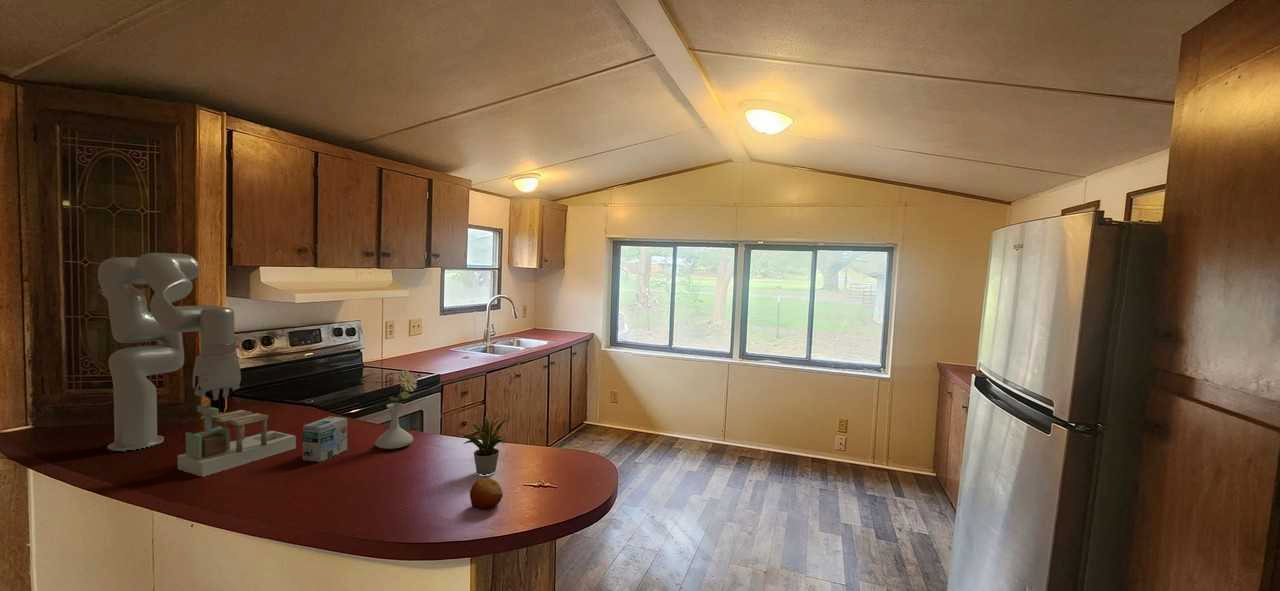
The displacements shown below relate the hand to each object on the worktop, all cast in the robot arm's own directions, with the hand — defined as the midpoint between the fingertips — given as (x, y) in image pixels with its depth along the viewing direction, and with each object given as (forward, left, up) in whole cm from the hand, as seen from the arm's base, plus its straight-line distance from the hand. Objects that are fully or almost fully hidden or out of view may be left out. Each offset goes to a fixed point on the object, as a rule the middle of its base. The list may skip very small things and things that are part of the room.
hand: (218, 412), depth 142 cm
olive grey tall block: (0, -2, -11) cm, 11 cm away
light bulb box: (+20, +18, -16) cm, 31 cm away
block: (0, -2, -12) cm, 12 cm away
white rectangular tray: (0, +6, -16) cm, 17 cm away
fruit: (+87, +12, -16) cm, 89 cm away
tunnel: (0, +6, -12) cm, 13 cm away
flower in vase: (+32, +34, -16) cm, 49 cm away
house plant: (+73, +30, -16) cm, 81 cm away
